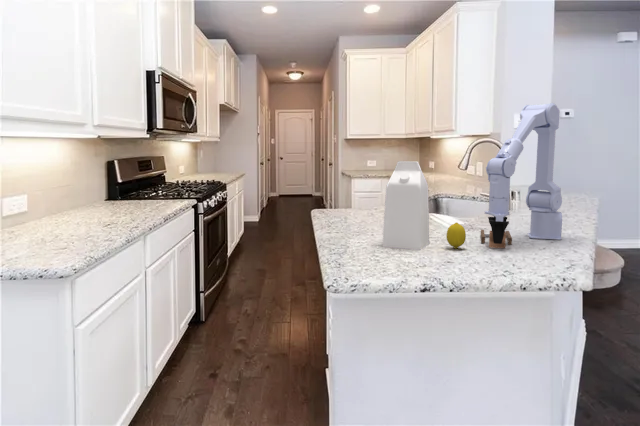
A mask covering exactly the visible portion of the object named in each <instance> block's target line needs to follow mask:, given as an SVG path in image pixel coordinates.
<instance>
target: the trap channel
mask: <svg viewBox="0 0 640 426" xmlns="http://www.w3.org/2000/svg"><path fill="white" fill-rule="evenodd" d="M505 232H506V242H507V244H508V245H509V246H510V245H511V246H512V245H513V238H512V237H513V236H512V235H511V233H510V231H509V230H505ZM489 235H490V233H489V234H488V233H485V229H480V241H481V242H480V243H481V244H485V242H486V239H487V238H489Z"/></svg>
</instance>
